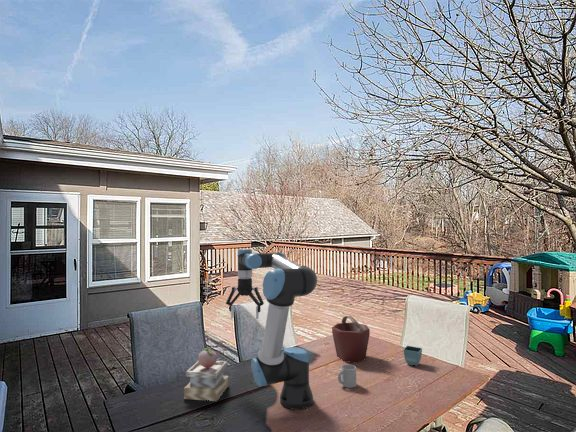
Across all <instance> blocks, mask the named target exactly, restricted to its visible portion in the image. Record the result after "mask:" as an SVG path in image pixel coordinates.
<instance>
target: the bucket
mask: <svg viewBox="0 0 576 432" xmlns="http://www.w3.org/2000/svg"><path fill="white" fill-rule="evenodd" d="M348 319H349V320H350V321H351V322H347V320H348ZM331 327H332V328H331V333H332V338H333V343H334V344H333V345H334V347H335V348H334V349H335V353H336V358H337V357H339V358H340V359H339V358H338V359H339V360H341V359H342V360H343V362H344V361H350V362H349V363H355V362H357V363H360V362H363V361H365V360H366V356H367V351H368V346H369V341H370V335H371V333H370V330H371V329H370V327H368V326H367V324H362V323H359V322H358V321H357V319H356V318H354V317H353V316H351V315H344V316H343V317H342V319H341V322H339V323H336V324H335V325H333V326H331ZM364 359H365V360H364ZM342 360H341V361H342ZM362 360H363V361H362ZM359 361H360V362H359Z"/></svg>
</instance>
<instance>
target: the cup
mask: <svg viewBox="0 0 576 432" xmlns="http://www.w3.org/2000/svg"><path fill="white" fill-rule="evenodd" d="M337 381H338V383H339V384H340V385H342V386H343V387H344V388H347V389H353V387H354V388H356V386H357V367H356V366H355V365H353V364H349V363H347V364H343V365H341V370H339V371H338V373H337Z"/></svg>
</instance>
